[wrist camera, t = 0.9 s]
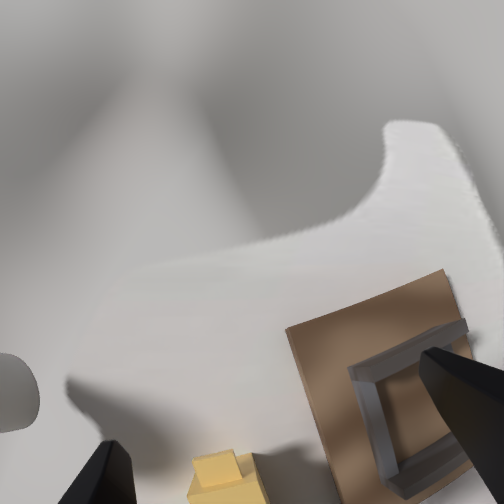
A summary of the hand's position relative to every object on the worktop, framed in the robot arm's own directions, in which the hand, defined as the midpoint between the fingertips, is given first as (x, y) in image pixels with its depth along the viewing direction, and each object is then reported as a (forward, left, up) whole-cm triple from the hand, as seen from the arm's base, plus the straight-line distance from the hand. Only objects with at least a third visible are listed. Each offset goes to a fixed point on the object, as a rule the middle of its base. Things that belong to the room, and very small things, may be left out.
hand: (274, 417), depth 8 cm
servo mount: (-6, -11, -14) cm, 19 cm away
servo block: (-8, +3, -14) cm, 17 cm away
